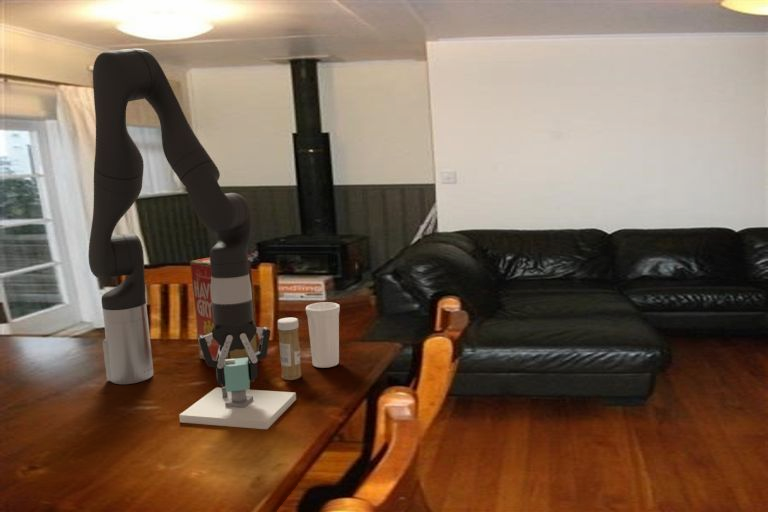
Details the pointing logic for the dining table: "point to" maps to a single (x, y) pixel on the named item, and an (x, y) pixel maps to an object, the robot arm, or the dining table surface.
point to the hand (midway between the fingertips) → (238, 382)
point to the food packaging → (204, 308)
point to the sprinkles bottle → (289, 348)
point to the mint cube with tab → (236, 374)
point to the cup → (324, 333)
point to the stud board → (239, 408)
